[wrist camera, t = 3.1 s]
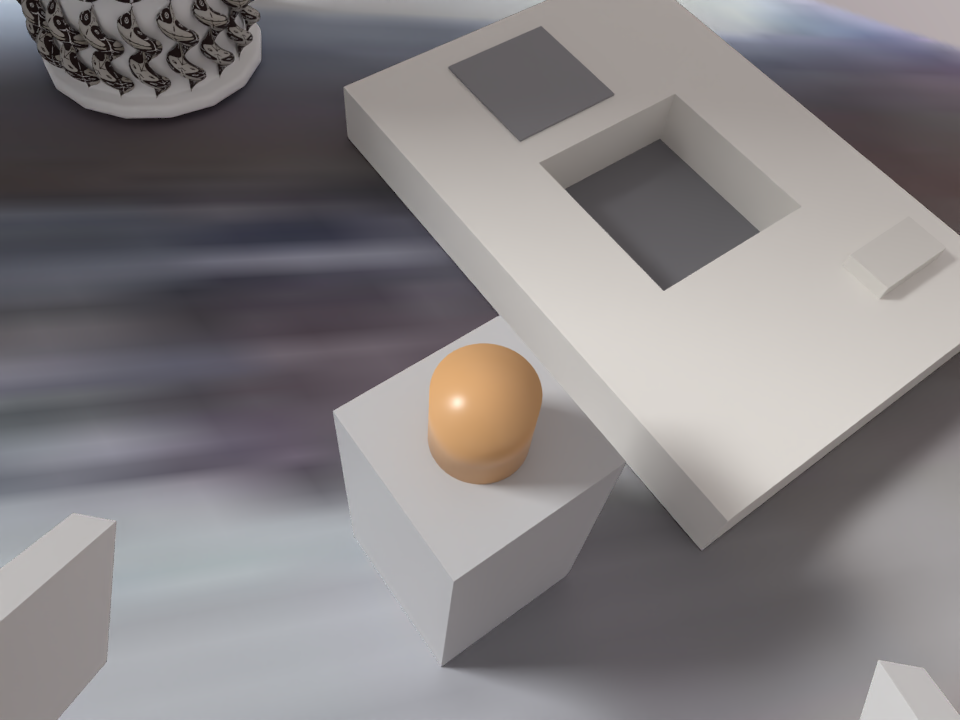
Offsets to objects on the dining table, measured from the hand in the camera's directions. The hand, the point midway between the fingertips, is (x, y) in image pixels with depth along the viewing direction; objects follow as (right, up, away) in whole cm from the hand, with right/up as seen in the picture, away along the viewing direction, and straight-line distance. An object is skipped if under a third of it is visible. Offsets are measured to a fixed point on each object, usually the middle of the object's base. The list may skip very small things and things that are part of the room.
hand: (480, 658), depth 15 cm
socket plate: (+6, +10, +17) cm, 21 cm away
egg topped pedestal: (-1, -1, +11) cm, 11 cm away
